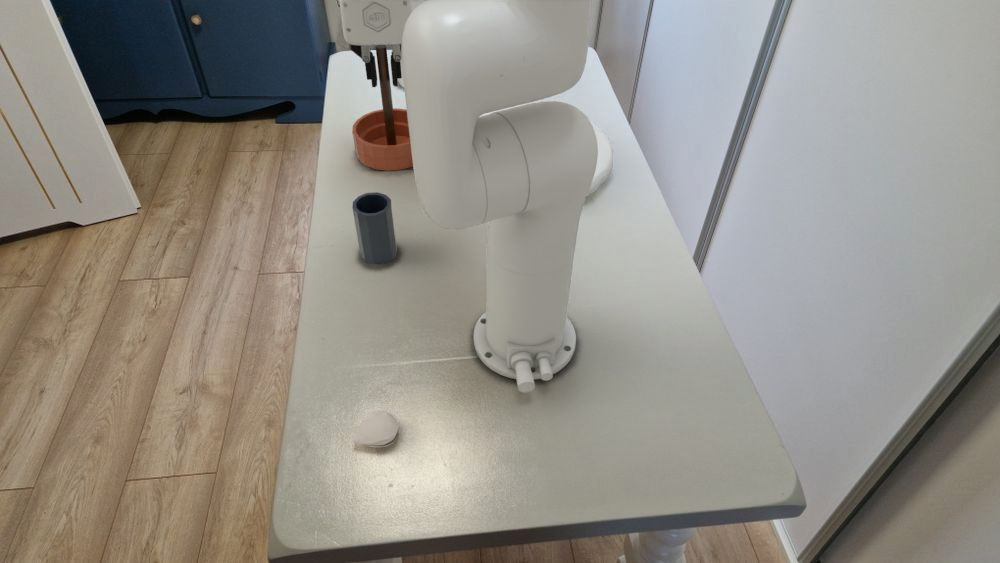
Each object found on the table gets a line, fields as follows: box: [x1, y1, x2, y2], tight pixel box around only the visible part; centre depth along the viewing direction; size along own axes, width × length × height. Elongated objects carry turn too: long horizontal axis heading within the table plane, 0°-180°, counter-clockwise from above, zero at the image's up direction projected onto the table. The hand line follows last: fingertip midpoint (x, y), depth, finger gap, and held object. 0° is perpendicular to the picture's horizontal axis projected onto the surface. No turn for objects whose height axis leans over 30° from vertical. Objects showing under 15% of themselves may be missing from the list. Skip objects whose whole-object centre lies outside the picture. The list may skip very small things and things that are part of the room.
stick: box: [375, 45, 397, 145], centre depth 105 cm, size 2×2×18 cm
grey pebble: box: [352, 409, 400, 448], centre depth 70 cm, size 4×5×2 cm
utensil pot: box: [351, 191, 398, 266], centre depth 89 cm, size 5×5×9 cm
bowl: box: [351, 107, 413, 172], centre depth 110 cm, size 12×12×5 cm
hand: (385, 81), depth 102 cm, fingers closed
